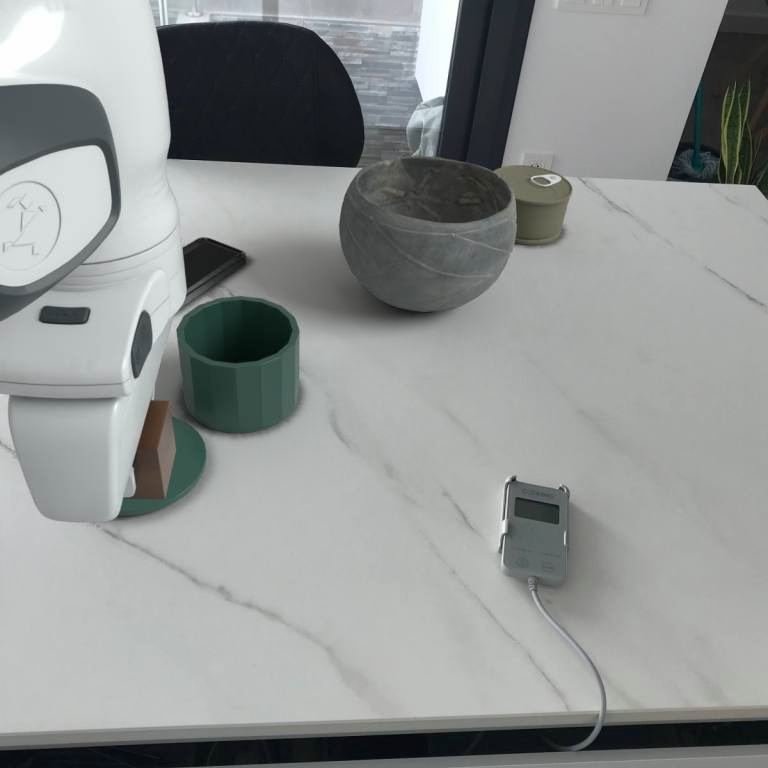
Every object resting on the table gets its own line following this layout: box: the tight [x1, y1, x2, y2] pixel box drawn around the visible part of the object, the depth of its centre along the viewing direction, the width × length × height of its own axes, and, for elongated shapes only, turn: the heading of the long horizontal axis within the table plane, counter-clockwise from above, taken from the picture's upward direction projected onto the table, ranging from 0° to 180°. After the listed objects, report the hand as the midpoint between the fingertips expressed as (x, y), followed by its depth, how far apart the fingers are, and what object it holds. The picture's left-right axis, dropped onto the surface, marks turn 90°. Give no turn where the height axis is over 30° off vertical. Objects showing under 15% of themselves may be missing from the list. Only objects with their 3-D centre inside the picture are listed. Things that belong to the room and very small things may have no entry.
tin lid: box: [118, 415, 208, 516], centre depth 71 cm, size 13×13×5 cm
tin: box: [175, 295, 301, 434], centre depth 79 cm, size 12×12×8 cm
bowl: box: [338, 155, 517, 313], centre depth 95 cm, size 21×21×15 cm
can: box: [492, 164, 573, 246], centre depth 114 cm, size 12×12×7 cm
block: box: [123, 399, 176, 500], centre depth 49 cm, size 4×4×4 cm
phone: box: [181, 236, 247, 308], centre depth 98 cm, size 8×1×15 cm
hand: (132, 455), depth 50 cm, fingers closed on block, 4 cm apart
